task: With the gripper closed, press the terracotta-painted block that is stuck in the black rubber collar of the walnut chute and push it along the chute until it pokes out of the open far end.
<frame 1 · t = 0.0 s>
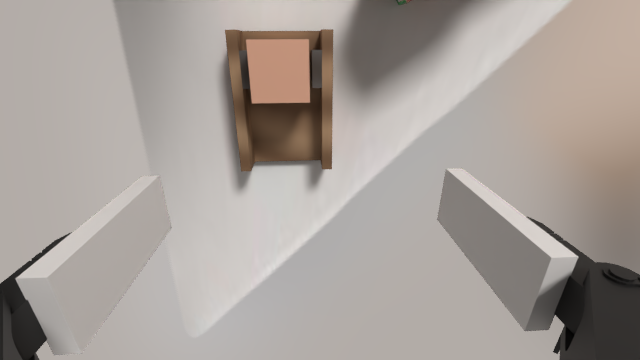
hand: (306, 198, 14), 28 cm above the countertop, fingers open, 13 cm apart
jammed block: (281, 69, 34), point 5 cm above the countertop, slide at 0.0 cm
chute: (285, 100, 40), on the countertop
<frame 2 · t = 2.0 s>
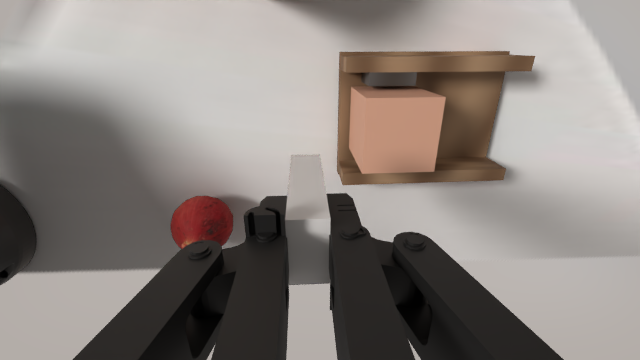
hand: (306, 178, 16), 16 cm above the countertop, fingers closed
jammed block: (389, 126, 27), point 5 cm above the countertop, slide at 0.0 cm
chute: (415, 114, 32), on the countertop
onion: (212, 206, 35), on the countertop
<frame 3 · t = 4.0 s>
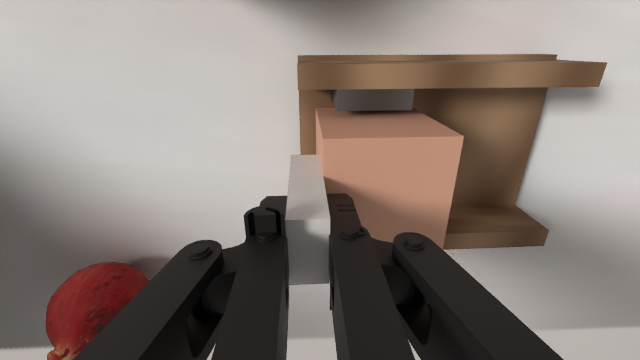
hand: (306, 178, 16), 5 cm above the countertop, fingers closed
jammed block: (372, 172, 17), point 5 cm above the countertop, slide at 0.0 cm, touching gripper
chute: (413, 145, 22), on the countertop
onion: (131, 268, 25), on the countertop
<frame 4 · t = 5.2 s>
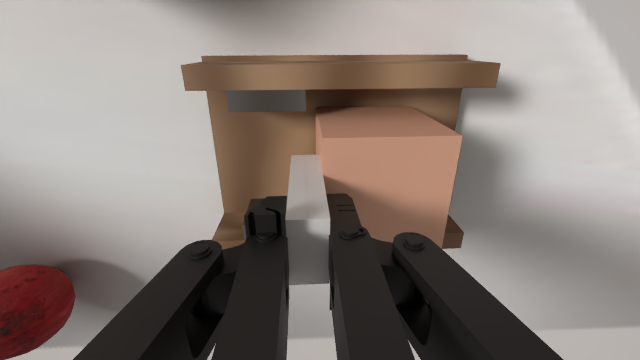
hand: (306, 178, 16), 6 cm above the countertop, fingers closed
jammed block: (371, 171, 17), point 5 cm above the countertop, slide at 5.6 cm, touching gripper
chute: (334, 146, 22), on the countertop
onion: (60, 270, 25), on the countertop
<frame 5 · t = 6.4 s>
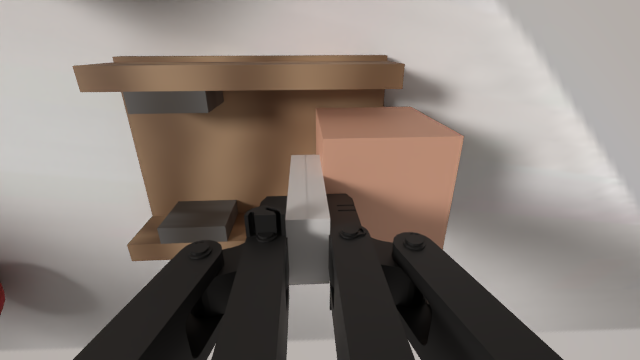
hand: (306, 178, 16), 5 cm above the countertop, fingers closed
jammed block: (372, 172, 17), point 5 cm above the countertop, slide at 10.7 cm, touching gripper
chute: (262, 148, 21), on the countertop
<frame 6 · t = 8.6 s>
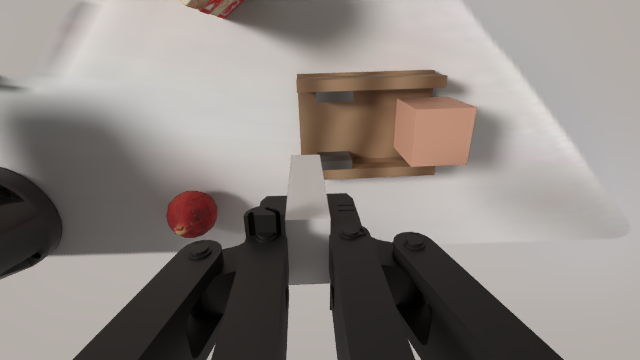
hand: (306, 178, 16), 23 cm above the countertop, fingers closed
jammed block: (430, 129, 35), point 5 cm above the countertop, slide at 10.7 cm
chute: (363, 122, 39), on the countertop
onion: (202, 199, 42), on the countertop
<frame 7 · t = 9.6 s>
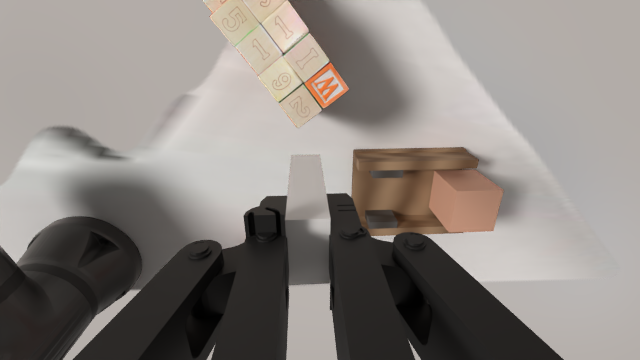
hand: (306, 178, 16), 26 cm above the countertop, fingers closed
jammed block: (462, 199, 43), point 5 cm above the countertop, slide at 10.7 cm
stack of blocks: (264, 19, 37), on the countertop
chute: (404, 186, 47), on the countertop
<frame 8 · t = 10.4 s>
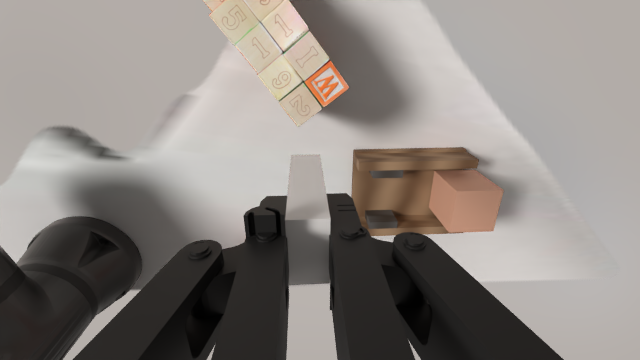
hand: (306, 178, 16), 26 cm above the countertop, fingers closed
jammed block: (462, 199, 43), point 5 cm above the countertop, slide at 10.7 cm
stack of blocks: (264, 18, 37), on the countertop
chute: (404, 186, 47), on the countertop
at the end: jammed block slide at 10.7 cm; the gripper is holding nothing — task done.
